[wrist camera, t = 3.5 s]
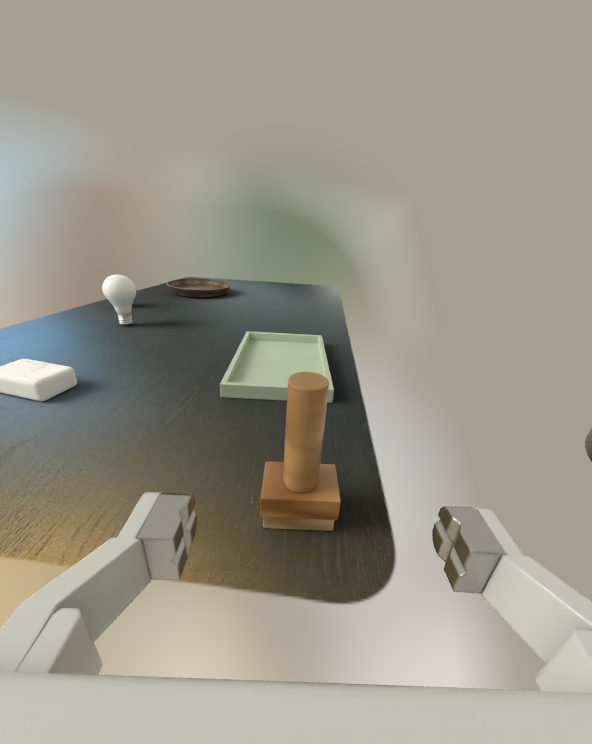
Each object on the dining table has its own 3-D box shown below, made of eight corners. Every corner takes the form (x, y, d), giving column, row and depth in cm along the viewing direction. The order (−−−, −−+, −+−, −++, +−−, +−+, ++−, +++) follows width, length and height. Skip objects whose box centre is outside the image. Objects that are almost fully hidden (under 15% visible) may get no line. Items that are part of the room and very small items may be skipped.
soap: (-12, 392, 40) (-21, 371, 39) (30, 375, 45) (24, 356, 44) (42, 404, 38) (35, 382, 37) (80, 385, 43) (75, 365, 42)
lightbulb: (128, 330, 65) (118, 277, 60) (103, 327, 66) (91, 275, 62) (148, 323, 71) (140, 274, 66) (124, 319, 72) (115, 271, 67)
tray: (320, 344, 64) (321, 335, 63) (332, 403, 42) (334, 389, 41) (246, 340, 63) (246, 331, 63) (220, 397, 42) (219, 383, 41)
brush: (330, 493, 28) (348, 369, 22) (335, 533, 24) (358, 397, 19) (265, 490, 28) (267, 365, 22) (260, 530, 24) (261, 392, 19)
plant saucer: (240, 291, 112) (239, 281, 110) (212, 302, 94) (211, 291, 92) (190, 285, 116) (189, 276, 115) (154, 295, 98) (153, 284, 96)
